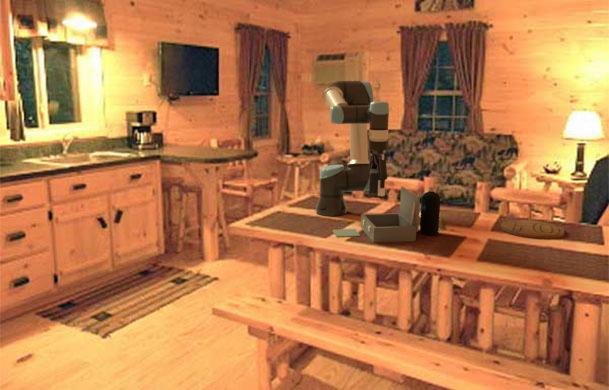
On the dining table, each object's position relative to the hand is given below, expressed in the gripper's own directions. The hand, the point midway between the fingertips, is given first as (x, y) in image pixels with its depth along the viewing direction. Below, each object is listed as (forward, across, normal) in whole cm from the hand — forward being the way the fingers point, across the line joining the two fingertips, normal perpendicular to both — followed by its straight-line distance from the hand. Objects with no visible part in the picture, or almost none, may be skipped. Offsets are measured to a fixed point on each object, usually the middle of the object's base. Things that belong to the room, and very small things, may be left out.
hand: (376, 192), depth 213 cm
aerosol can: (+18, +3, +22) cm, 29 cm away
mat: (+18, -2, -12) cm, 22 cm away
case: (+18, +2, +4) cm, 18 cm away
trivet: (+18, +7, +67) cm, 70 cm away
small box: (+1, 0, 0) cm, 1 cm away
